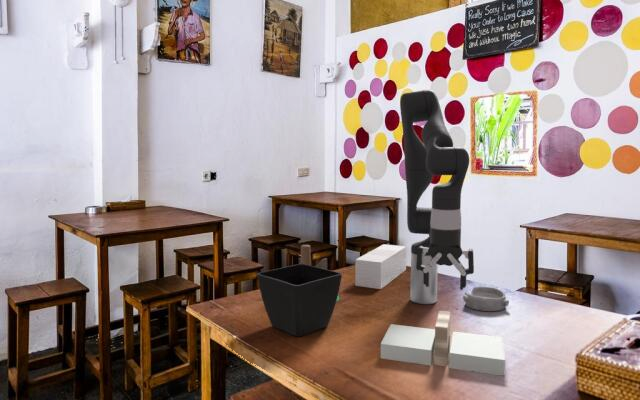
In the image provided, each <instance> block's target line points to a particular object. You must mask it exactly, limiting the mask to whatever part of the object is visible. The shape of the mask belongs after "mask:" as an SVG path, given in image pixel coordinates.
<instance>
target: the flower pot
mask: <svg viewBox="0 0 640 400" xmlns="http://www.w3.org/2000/svg"><path fill="white" fill-rule="evenodd" d="M342 275H343V274H342V272H338V271H335V270H331V269H328V268H327V269H323V268H318V267H315V266H314V265H311V266H310V265H306V264H301V263H298V264H294V265H288V266H284V267H279V268H275V269H270V270H266V271H265V270H264V271H261V272H257V280H258V287H259V291H260V295H261V299H262V301H263V302H262V303H263V307H264V308H265V312H266V313H267V317H268V319H269V321H270V325H271V326H272V327H273V328H276V329H278V330H281V331H283V332H285V333H288V334H289V335H292V336H295V337H302V336H304V335H307V334H310V333H313V332H315V331H319V330H321V329H323V328H326V327H328V325H329V324H330V322H331V319H332V315H333V313H334V311H335V307H336V305H337V297H338V296H339V291H340V289H341V282H342V277H343V276H342Z"/></svg>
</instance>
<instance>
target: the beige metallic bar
mask: <svg viewBox="0 0 640 400" xmlns="http://www.w3.org/2000/svg"><path fill="white" fill-rule="evenodd" d="M451 314H452V313H451V311H448V310H438V314H437V318H436V322H435V326H434V329H435V350H434V355H433V359H434V361H433V362H434V365H435V364H437V365H436V366H442V365H444V367H447V366H448V361H449V356H450V348H451V319H452V317H451Z"/></svg>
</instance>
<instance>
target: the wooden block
mask: <svg viewBox="0 0 640 400" xmlns="http://www.w3.org/2000/svg"><path fill="white" fill-rule="evenodd" d="M311 251H312V250H311V245H310V244H302V245H300V264H306V265H310V266H312V263H311V261H312V260H311V253H312V252H311ZM314 267H318V268H323V269H327V270H328V258H327V257H325V258H322V259H320V261H319V262H318V263H317V264H316V265H315V266H314Z"/></svg>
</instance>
